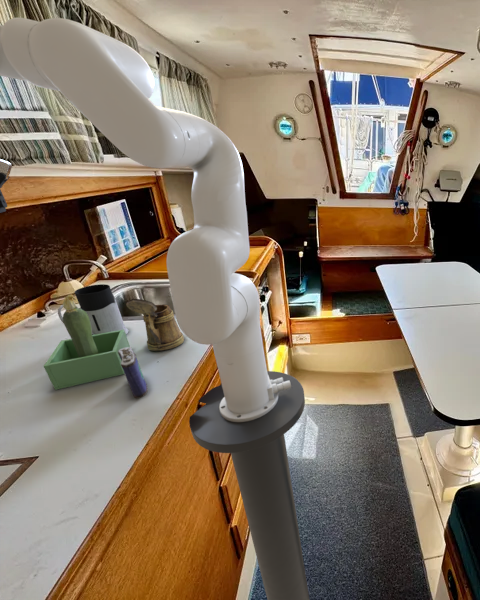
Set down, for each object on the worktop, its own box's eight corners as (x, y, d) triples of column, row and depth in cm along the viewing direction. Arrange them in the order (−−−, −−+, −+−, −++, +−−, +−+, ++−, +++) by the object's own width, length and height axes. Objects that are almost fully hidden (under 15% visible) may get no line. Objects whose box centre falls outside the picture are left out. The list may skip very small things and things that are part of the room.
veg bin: (131, 349, 90) (124, 329, 87) (124, 374, 80) (115, 351, 78) (71, 362, 84) (61, 340, 81) (55, 390, 74) (43, 366, 72)
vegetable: (79, 369, 80) (47, 295, 72) (99, 360, 84) (70, 289, 76) (92, 372, 79) (60, 298, 71) (111, 363, 83) (83, 291, 75)
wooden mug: (133, 362, 85) (111, 300, 77) (155, 337, 97) (138, 281, 89) (171, 358, 87) (153, 297, 80) (189, 334, 99) (174, 279, 92)
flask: (128, 380, 78) (114, 342, 74) (143, 375, 80) (130, 338, 76) (134, 400, 72) (118, 360, 68) (150, 394, 74) (136, 354, 70)
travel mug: (135, 329, 100) (120, 284, 94) (89, 354, 88) (68, 304, 81) (111, 326, 101) (94, 282, 95) (61, 351, 89) (38, 301, 82)
